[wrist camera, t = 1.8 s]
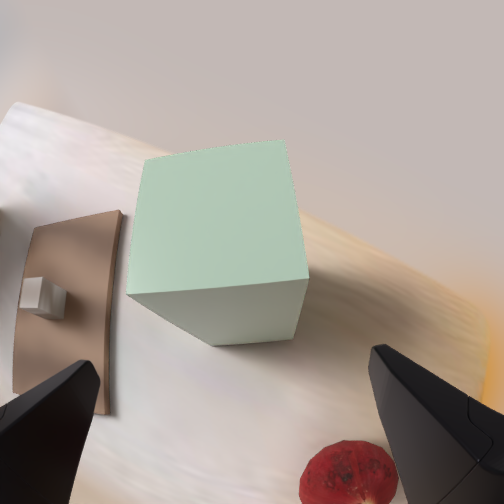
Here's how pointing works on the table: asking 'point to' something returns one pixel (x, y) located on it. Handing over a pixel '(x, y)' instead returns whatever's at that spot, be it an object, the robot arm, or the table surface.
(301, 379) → the table surface
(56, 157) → the table surface
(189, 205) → the mint green prism
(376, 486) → the onion
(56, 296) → the brown board
